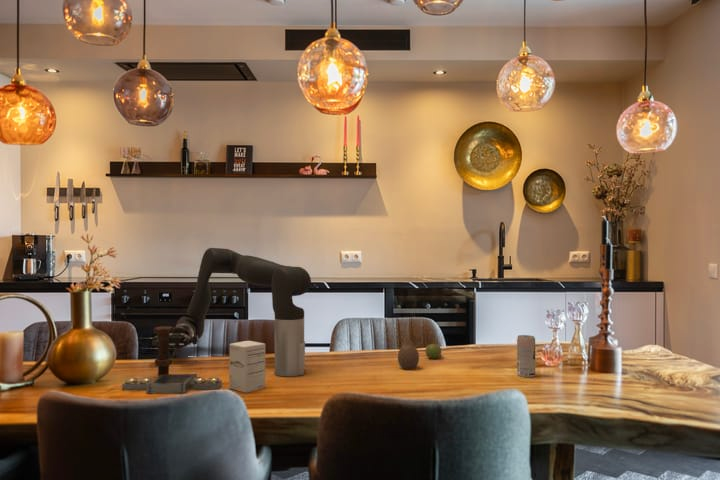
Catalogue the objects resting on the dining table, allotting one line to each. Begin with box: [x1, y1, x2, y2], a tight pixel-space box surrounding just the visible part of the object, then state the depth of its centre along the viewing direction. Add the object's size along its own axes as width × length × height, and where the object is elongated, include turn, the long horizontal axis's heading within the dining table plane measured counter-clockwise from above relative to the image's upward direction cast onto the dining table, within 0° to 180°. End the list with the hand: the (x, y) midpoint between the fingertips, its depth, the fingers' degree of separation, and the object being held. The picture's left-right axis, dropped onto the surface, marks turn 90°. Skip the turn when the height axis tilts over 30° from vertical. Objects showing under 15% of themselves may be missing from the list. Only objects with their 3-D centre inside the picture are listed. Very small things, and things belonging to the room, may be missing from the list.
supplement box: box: [228, 340, 266, 394], centre depth 149 cm, size 7×7×13 cm
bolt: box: [152, 325, 174, 377], centre depth 162 cm, size 6×5×15 cm
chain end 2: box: [163, 373, 223, 394], centre depth 149 cm, size 18×11×3 cm, turn 92°
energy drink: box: [516, 334, 536, 379], centre depth 163 cm, size 5×5×12 cm
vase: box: [397, 340, 420, 370], centre depth 173 cm, size 7×7×9 cm
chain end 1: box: [121, 374, 184, 395], centre depth 149 cm, size 18×11×3 cm, turn 92°
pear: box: [425, 343, 442, 360], centre depth 190 cm, size 6×5×10 cm
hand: (171, 343), depth 173 cm, fingers open, 8 cm apart
